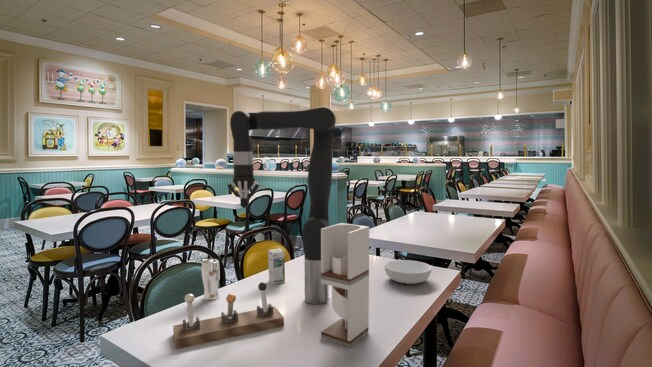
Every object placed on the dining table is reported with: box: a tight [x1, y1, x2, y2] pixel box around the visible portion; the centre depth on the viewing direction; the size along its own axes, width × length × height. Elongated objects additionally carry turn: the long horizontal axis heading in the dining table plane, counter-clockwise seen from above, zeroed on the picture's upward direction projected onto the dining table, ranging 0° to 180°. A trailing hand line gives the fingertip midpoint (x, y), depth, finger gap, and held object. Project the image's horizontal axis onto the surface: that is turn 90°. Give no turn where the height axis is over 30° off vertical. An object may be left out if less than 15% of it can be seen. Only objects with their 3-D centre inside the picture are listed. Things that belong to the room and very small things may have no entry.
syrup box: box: [267, 248, 286, 285], centre depth 171 cm, size 6×6×14 cm
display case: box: [320, 222, 370, 349], centre depth 120 cm, size 11×11×35 cm
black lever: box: [257, 281, 269, 314], centre depth 131 cm, size 3×3×11 cm
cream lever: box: [184, 293, 196, 329], centre depth 121 cm, size 3×3×11 cm
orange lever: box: [225, 293, 237, 321], centre depth 123 cm, size 3×3×11 cm
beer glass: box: [201, 258, 221, 301], centre depth 153 cm, size 7×7×15 cm
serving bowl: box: [384, 259, 433, 285], centre depth 172 cm, size 21×21×7 cm
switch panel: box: [172, 303, 285, 350], centre depth 125 cm, size 34×10×6 cm, turn 116°
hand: (244, 207), depth 149 cm, fingers closed
